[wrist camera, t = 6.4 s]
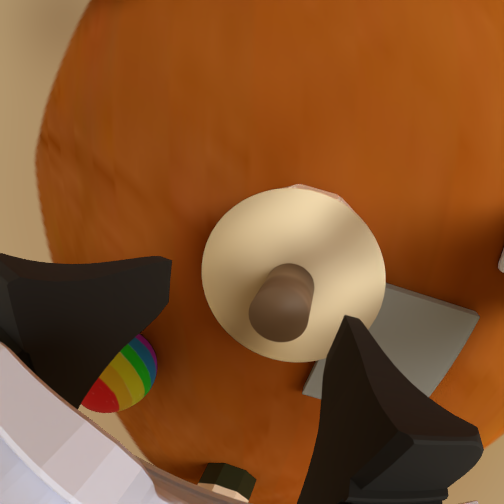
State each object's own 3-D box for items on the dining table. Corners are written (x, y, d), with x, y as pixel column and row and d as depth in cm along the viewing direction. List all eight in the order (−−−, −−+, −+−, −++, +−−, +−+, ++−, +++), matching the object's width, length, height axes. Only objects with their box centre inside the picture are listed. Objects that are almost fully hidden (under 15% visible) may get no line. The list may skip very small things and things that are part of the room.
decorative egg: (125, 304, 27) (57, 352, 18) (180, 360, 27) (126, 425, 18) (102, 338, 30) (48, 381, 21) (148, 385, 30) (102, 438, 21)
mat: (475, 311, 17) (479, 316, 16) (411, 410, 21) (412, 417, 20) (352, 272, 20) (353, 277, 19) (303, 386, 24) (301, 393, 23)
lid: (418, 262, 14) (443, 294, 10) (309, 379, 18) (300, 424, 14) (263, 150, 15) (238, 144, 11) (181, 292, 19) (146, 323, 15)
